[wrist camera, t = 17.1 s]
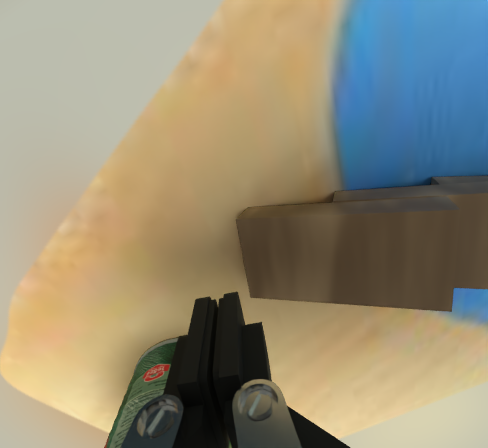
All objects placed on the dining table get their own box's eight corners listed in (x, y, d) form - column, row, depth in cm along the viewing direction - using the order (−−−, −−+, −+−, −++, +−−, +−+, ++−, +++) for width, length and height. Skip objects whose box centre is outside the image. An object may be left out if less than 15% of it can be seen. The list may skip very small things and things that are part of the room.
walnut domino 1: (248, 207, 17) (446, 196, 13) (260, 279, 19) (440, 287, 15) (235, 219, 15) (460, 209, 12) (250, 297, 17) (451, 311, 13)
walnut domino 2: (335, 191, 17) (560, 176, 13) (339, 265, 19) (540, 271, 15) (332, 201, 15) (590, 187, 12) (337, 282, 17) (564, 292, 13)
